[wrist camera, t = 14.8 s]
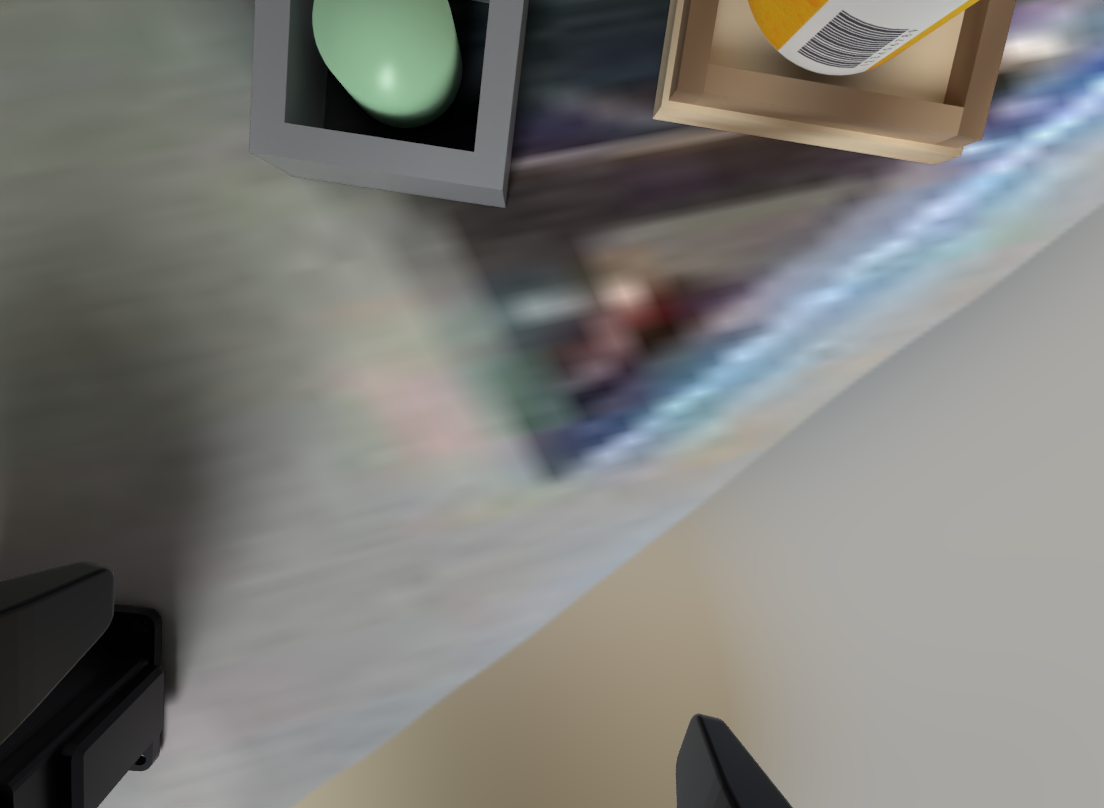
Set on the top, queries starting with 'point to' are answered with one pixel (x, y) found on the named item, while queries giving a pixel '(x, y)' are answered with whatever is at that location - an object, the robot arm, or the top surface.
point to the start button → (392, 56)
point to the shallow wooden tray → (833, 84)
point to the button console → (340, 157)
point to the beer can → (849, 29)
